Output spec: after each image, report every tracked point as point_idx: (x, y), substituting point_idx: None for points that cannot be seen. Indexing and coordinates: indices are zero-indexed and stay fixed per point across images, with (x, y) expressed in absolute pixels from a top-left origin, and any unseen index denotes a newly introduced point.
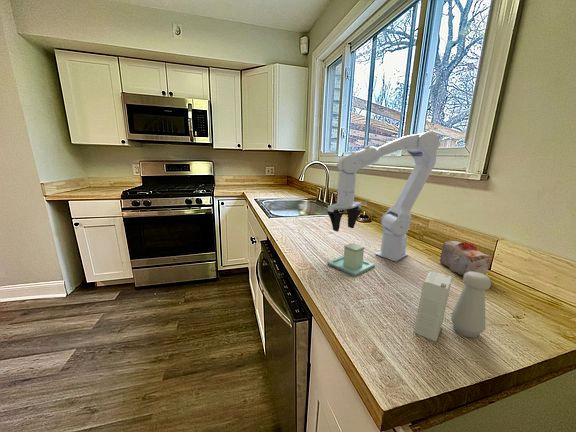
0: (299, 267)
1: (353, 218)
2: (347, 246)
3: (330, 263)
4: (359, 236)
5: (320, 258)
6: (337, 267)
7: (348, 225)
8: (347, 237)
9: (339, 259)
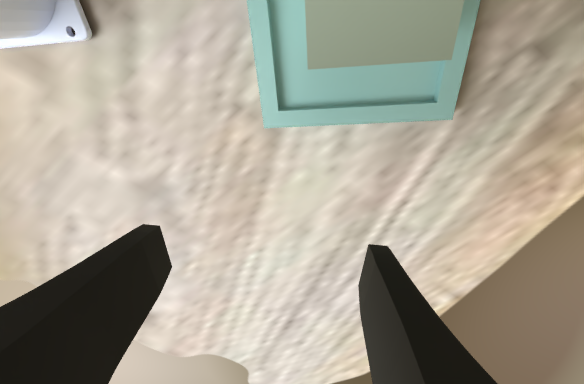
0: (578, 172)
1: (67, 329)
2: (440, 28)
3: (457, 95)
4: (42, 243)
5: (402, 184)
6: (468, 33)
7: (163, 278)
8: None
9: (360, 106)
